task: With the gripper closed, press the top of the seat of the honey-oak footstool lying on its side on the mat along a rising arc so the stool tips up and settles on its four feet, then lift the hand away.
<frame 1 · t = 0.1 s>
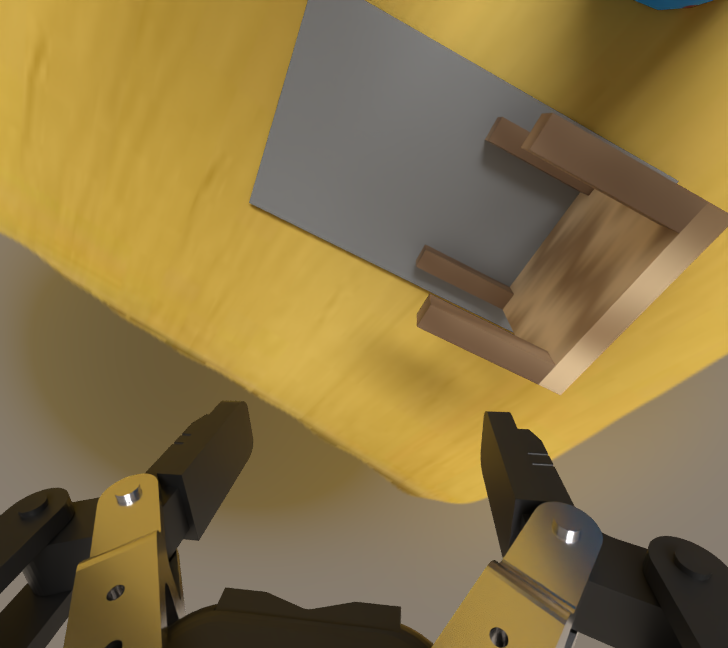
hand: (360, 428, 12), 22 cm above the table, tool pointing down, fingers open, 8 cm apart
stool: (579, 273, 25), point 6 cm above the table, touching mat
mat: (446, 192, 29), on the table
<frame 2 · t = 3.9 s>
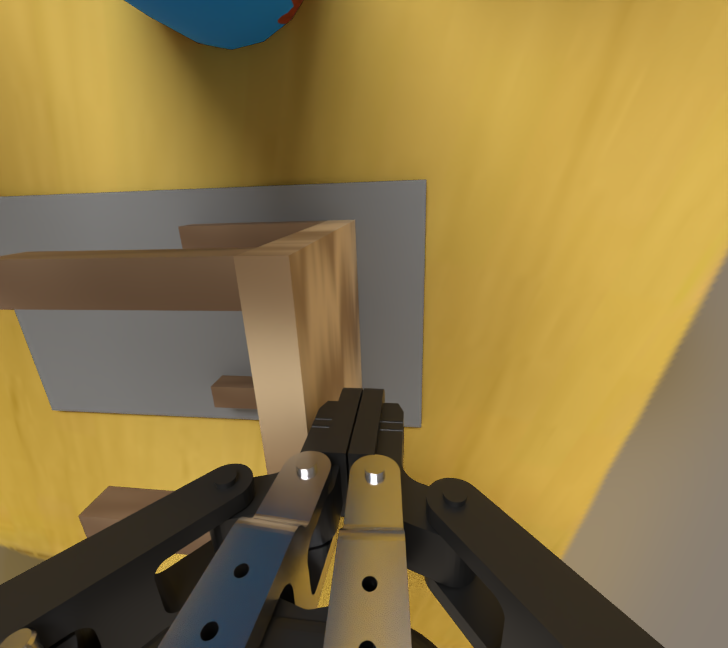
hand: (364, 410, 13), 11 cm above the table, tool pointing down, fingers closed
stool: (325, 358, 18), point 6 cm above the table, touching gripper, mat
mat: (207, 314, 25), on the table
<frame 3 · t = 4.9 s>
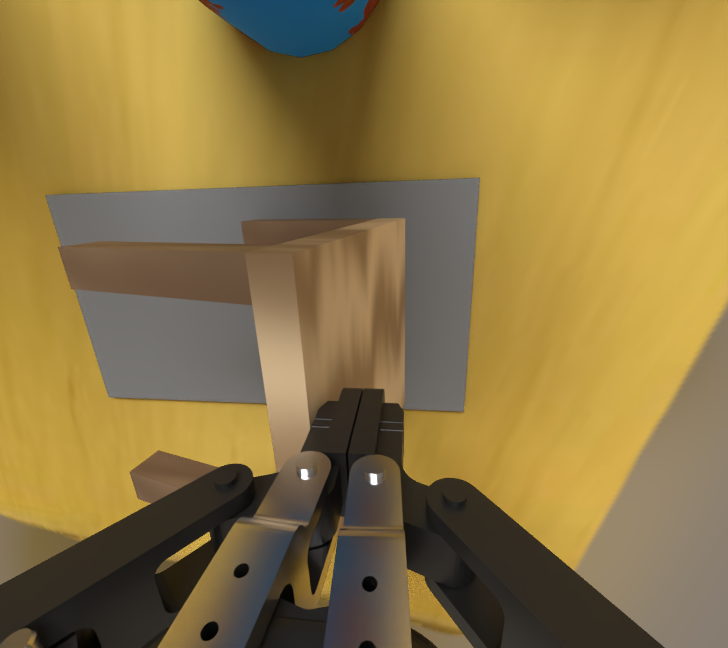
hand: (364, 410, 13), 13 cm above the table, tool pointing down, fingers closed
stool: (356, 357, 18), point 8 cm above the table, tilted 14°, touching gripper, mat
mat: (263, 305, 27), on the table
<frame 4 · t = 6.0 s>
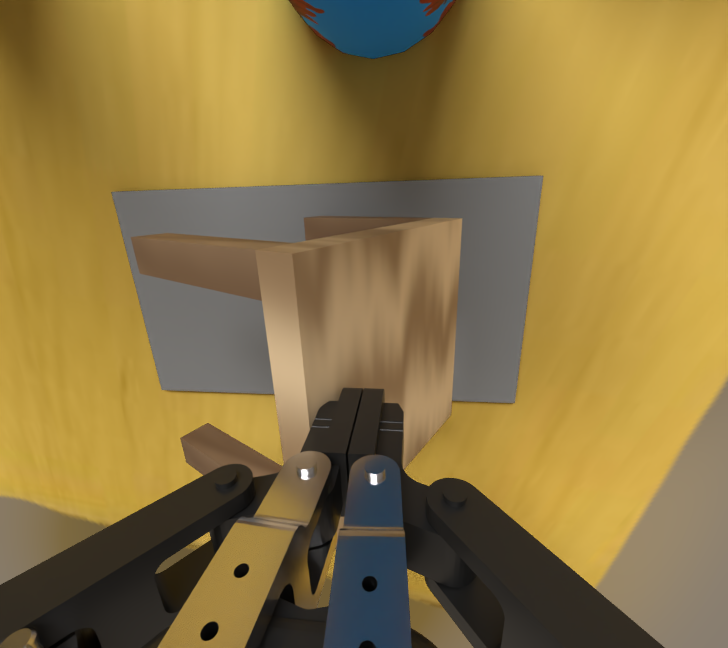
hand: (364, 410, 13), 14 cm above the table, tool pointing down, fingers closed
stool: (388, 361, 17), point 10 cm above the table, tilted 29°, touching gripper, mat
mat: (321, 299, 27), on the table
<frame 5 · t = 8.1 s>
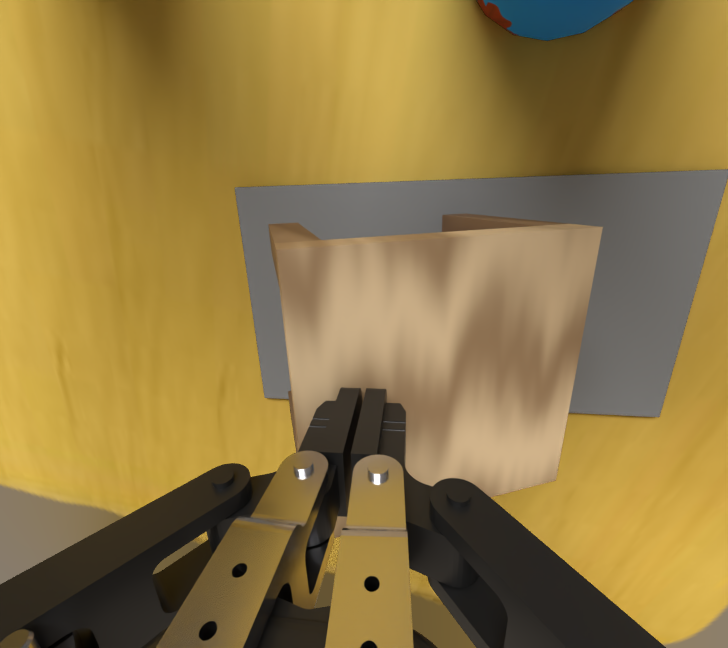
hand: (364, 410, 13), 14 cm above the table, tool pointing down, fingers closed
stool: (440, 383, 15), point 11 cm above the table, tilted 67°, touching gripper, mat
mat: (452, 303, 25), on the table
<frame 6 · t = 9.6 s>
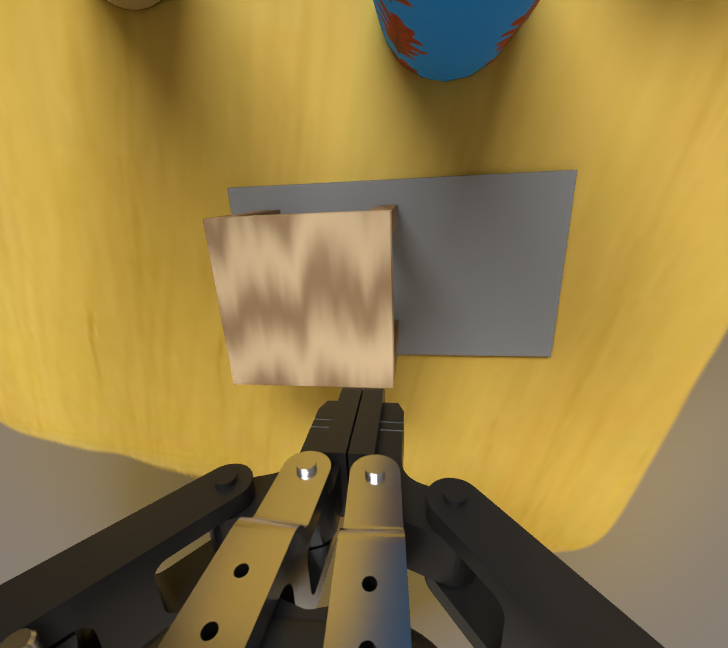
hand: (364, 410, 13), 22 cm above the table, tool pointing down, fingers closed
stool: (306, 304, 26), point 10 cm above the table, tilted 90°, touching mat
mat: (393, 273, 34), on the table
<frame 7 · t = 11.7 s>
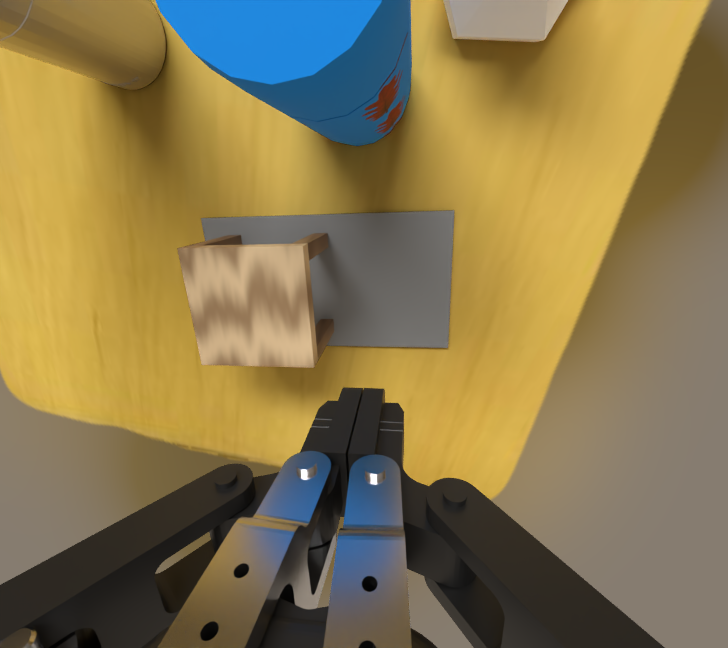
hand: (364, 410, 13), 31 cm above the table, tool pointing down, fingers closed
stool: (251, 307, 36), point 10 cm above the table, tilted 90°, touching mat
mat: (327, 283, 44), on the table
thermos: (357, 89, 37), on the table
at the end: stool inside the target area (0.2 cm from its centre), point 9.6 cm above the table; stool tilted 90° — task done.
